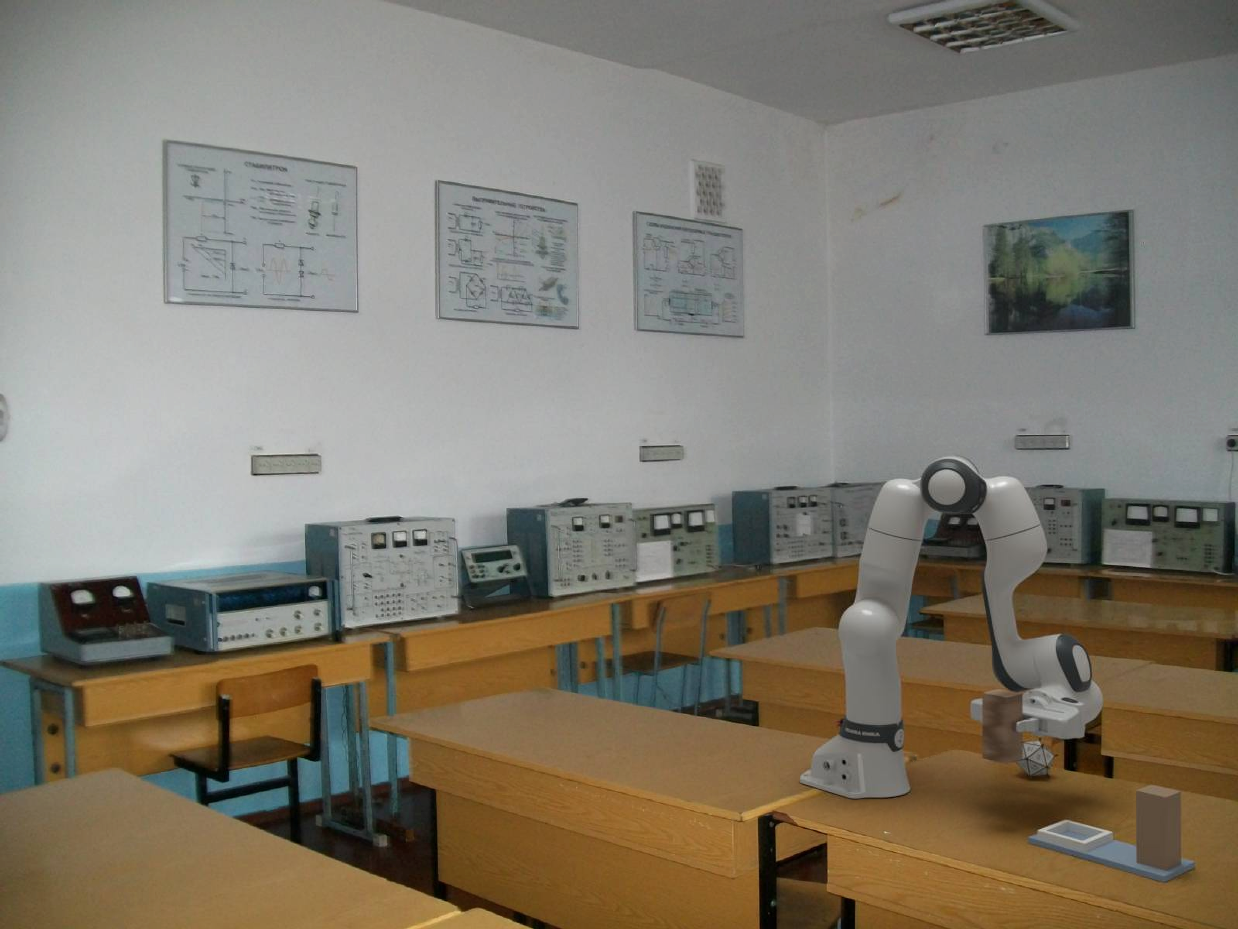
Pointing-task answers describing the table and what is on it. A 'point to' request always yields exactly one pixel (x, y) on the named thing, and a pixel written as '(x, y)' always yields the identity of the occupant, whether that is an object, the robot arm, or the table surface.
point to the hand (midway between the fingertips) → (999, 723)
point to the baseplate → (1148, 858)
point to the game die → (1036, 758)
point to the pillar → (1001, 726)
